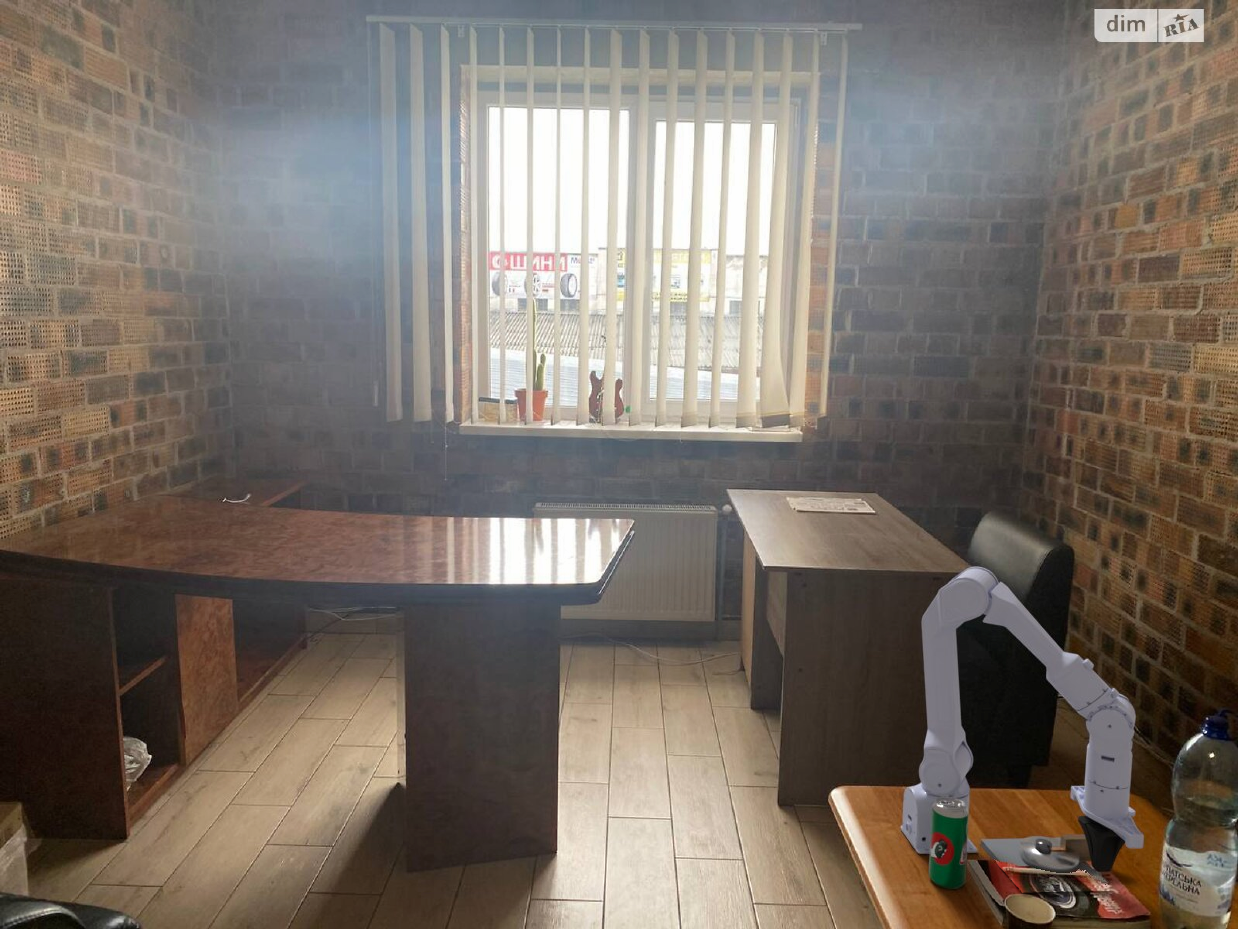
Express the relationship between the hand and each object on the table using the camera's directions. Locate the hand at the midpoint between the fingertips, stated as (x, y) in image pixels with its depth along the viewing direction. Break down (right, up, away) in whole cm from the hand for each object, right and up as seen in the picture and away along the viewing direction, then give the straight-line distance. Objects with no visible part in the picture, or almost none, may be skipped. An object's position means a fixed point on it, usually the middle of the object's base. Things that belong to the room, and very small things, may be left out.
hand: (1101, 869), depth 130 cm
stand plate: (-6, -2, +5) cm, 8 cm away
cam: (-2, -1, +5) cm, 5 cm away
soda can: (-22, -2, +1) cm, 22 cm away
